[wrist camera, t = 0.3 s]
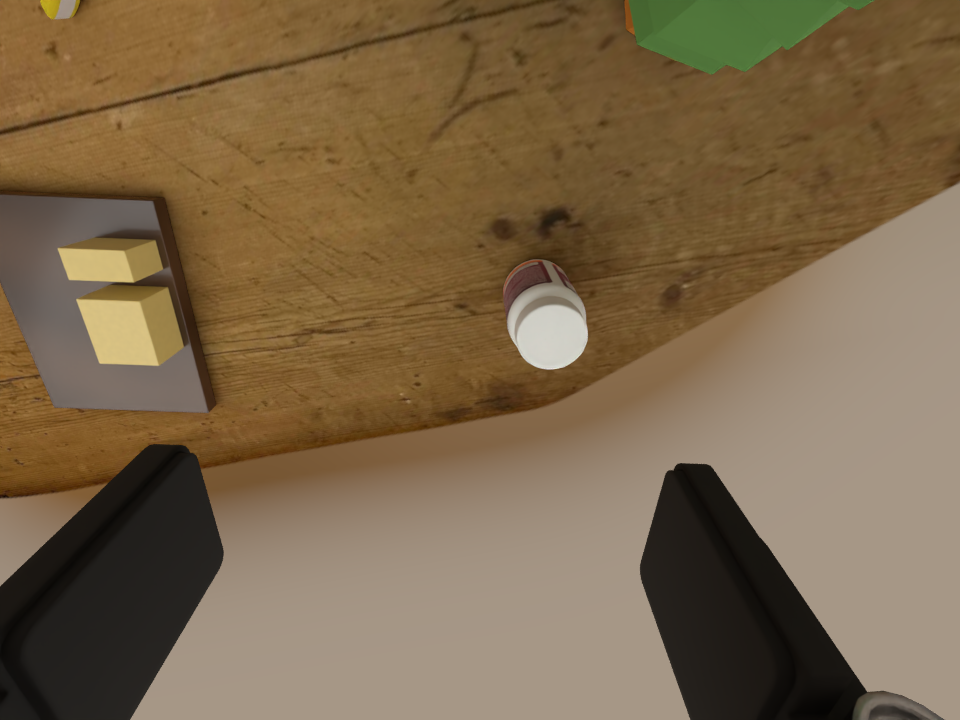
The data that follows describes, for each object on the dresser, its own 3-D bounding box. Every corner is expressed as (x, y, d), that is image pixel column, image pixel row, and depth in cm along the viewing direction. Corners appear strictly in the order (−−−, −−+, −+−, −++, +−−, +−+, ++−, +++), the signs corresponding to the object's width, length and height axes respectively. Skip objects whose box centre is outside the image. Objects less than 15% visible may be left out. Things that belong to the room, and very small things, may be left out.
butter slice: (94, 237, 31) (56, 247, 28) (155, 239, 31) (124, 250, 28) (103, 267, 31) (68, 280, 29) (163, 269, 32) (134, 283, 29)
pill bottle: (496, 315, 34) (500, 368, 27) (511, 251, 32) (520, 289, 25) (559, 327, 35) (580, 382, 27) (577, 265, 32) (606, 306, 25)
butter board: (-22, 189, 30) (-40, 192, 29) (164, 197, 31) (153, 200, 30) (66, 399, 38) (53, 407, 36) (216, 405, 38) (208, 413, 37)
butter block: (109, 284, 32) (75, 298, 29) (168, 286, 32) (139, 301, 29) (129, 345, 34) (99, 364, 31) (184, 347, 34) (159, 366, 31)
